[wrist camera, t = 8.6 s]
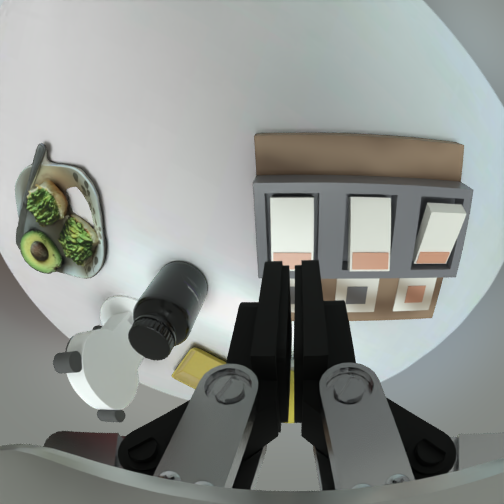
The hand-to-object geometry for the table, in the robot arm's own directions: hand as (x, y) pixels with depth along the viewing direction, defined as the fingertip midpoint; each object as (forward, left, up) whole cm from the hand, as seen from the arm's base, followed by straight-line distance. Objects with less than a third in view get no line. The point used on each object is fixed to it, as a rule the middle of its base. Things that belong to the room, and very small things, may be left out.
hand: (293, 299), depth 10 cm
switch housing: (+7, +7, -23) cm, 25 cm away
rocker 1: (+7, 0, -20) cm, 21 cm away
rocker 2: (+7, +7, -20) cm, 22 cm away
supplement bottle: (+16, -14, -25) cm, 33 cm away
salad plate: (+7, -32, -26) cm, 42 cm away
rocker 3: (+7, +15, -20) cm, 26 cm away
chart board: (+9, +7, -25) cm, 27 cm away
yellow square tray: (+32, -13, -26) cm, 43 cm away
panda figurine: (+24, -24, -25) cm, 42 cm away
